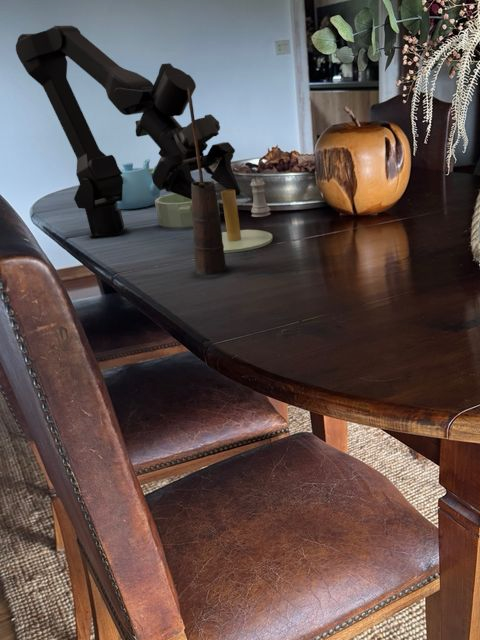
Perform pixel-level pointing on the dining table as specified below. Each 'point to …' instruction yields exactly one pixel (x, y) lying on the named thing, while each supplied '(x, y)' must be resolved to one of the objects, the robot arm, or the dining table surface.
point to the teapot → (137, 187)
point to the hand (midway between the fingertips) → (224, 199)
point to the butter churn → (205, 219)
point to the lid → (234, 236)
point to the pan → (175, 210)
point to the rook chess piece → (259, 199)
